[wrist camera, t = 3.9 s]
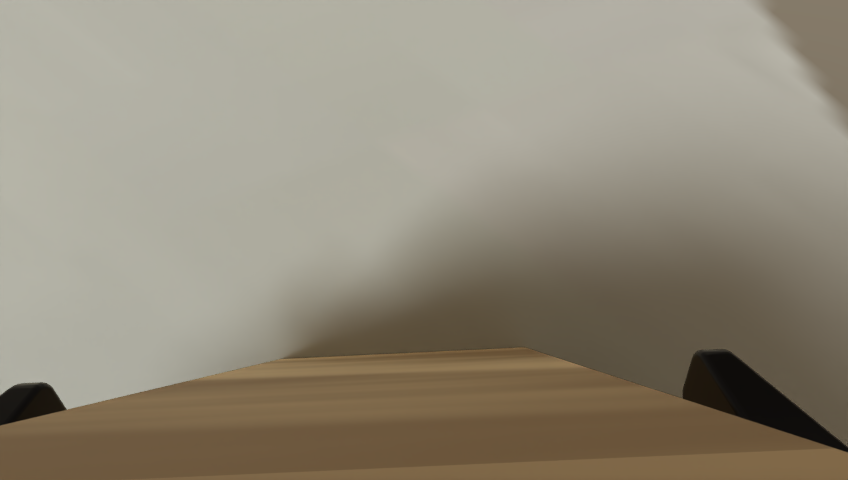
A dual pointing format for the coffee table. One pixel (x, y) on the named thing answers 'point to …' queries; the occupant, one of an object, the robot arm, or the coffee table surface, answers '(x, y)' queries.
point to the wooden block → (408, 427)
